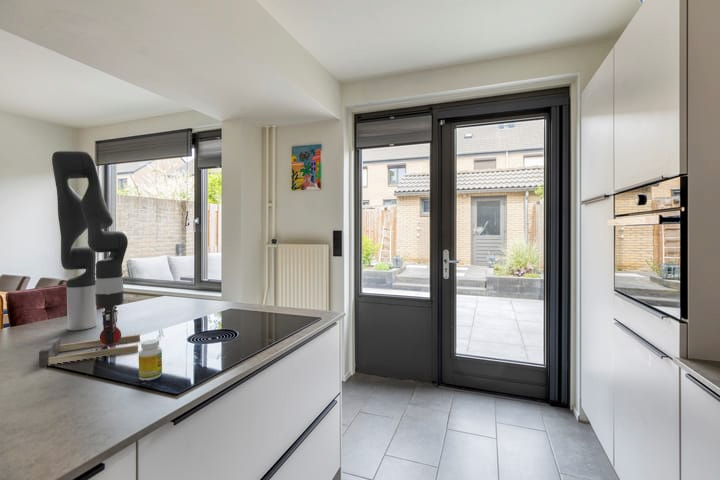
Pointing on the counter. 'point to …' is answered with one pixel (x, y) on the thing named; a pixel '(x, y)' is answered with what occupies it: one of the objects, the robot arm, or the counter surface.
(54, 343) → the guide rails
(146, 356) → the supplement bottle
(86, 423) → the counter surface
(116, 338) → the onion
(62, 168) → the robot arm
